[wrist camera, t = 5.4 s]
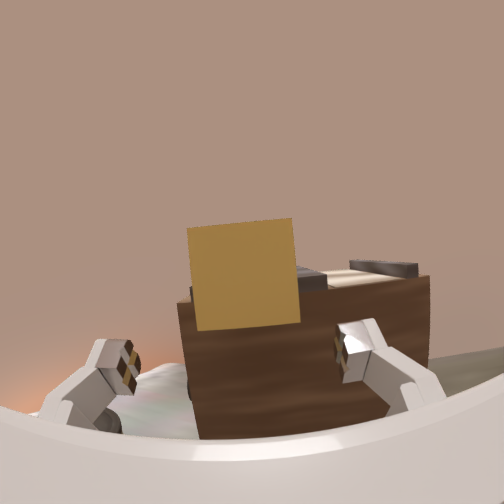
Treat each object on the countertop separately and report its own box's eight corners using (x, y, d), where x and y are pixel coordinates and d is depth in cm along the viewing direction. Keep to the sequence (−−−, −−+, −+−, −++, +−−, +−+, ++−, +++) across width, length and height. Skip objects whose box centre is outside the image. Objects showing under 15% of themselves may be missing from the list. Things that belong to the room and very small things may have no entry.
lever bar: (300, 322, 11) (291, 218, 11) (197, 331, 11) (186, 228, 11) (271, 277, 33) (268, 241, 33) (235, 280, 33) (232, 244, 33)
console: (397, 513, 19) (428, 261, 19) (217, 539, 19) (161, 289, 19) (363, 450, 33) (365, 258, 33) (227, 466, 33) (199, 274, 33)
